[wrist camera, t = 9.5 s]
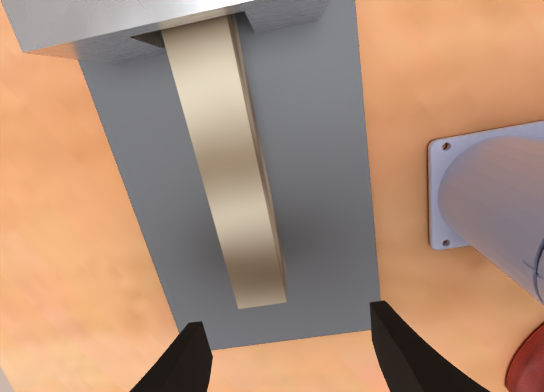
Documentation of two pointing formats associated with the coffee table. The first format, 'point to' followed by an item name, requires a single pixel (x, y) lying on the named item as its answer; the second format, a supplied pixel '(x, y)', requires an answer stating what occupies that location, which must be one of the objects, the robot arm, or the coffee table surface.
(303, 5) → the grey rectangular block
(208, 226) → the board
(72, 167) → the coffee table surface
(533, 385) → the stacking bear
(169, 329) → the coffee table surface
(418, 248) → the coffee table surface
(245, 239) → the slat
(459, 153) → the robot arm
